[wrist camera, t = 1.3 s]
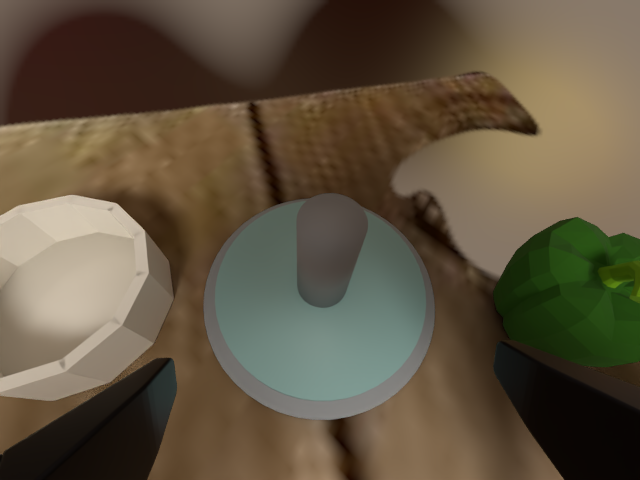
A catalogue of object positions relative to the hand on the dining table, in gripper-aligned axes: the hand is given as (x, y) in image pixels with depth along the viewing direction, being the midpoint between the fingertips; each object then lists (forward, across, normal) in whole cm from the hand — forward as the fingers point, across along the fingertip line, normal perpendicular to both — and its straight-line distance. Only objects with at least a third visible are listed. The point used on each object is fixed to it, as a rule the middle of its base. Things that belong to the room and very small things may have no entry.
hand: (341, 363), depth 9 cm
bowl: (+15, +16, +4) cm, 22 cm away
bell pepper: (+13, -16, +6) cm, 22 cm away
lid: (+14, -1, +4) cm, 15 cm away
